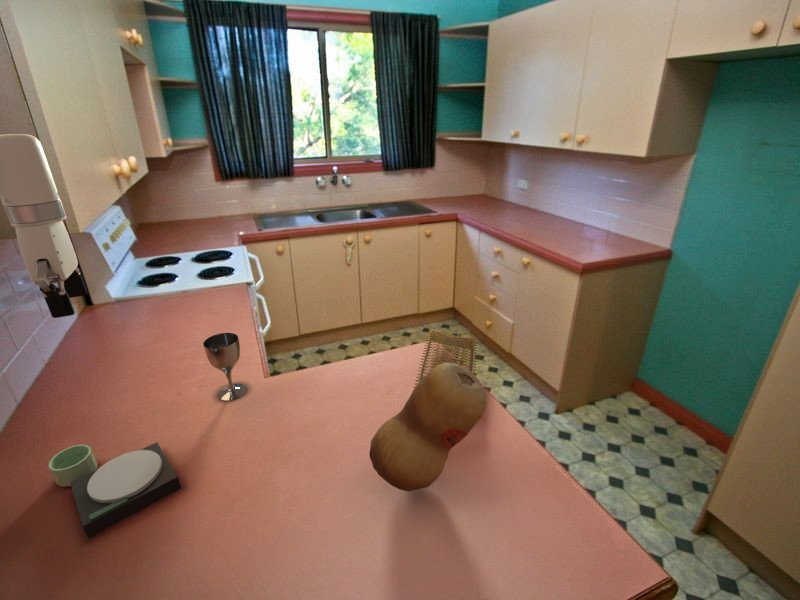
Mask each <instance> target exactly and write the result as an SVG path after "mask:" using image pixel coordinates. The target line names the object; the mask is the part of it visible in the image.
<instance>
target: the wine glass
mask: <svg viewBox="0 0 800 600" xmlns="http://www.w3.org/2000/svg"><path fill="white" fill-rule="evenodd" d="M202 345H203V346H202V347H203V350H204V353H205V356H206V358H207V360H208V362H209V363H210V365H211V366H212V367H214V368H215V369H217V370H219V371H221V372H222V373H224V375H225V377H226V379H227V382H228V385H225V386H224V387H222V388H221V389H220V390H219V391H218V392H217V398H218V399H219V400H221V401H226V402H227V401H233V400H237V399H239V398H241V397H243V396H244V395H246V393H247V391H248V387H247V386H246V385H245V384H243V383H233V379H232V371H233V369H234V367H235V366H236V364H237V363H238V362H239V360H240V356H241V345H240V338H239V335H237V334H236V333H233V332H221V333H217V334H214V335H211V336H209V337H207V338H206V339H205V340H204V341H203V344H202Z"/></svg>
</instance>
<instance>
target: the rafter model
mask: <svg viewBox="0 0 800 600" xmlns="http://www.w3.org/2000/svg"><path fill="white" fill-rule="evenodd" d="M477 350H478V337H474V336H471V337H469V335H468V336H467V337H466V336H464V334H463V335H462V336H460V335H455V334H451V333H446V332H441V331H439V330H436V329H434V328H430V327H429V329H428V332H427V337H426V340H425V343H424V347H423V350H422V355H421V357H422V358H420V360H421V361H419V367H418V369H419V370H417V372H419V373H416V375H417V376H416V377H415V378H416V379H414V380H415V383H414V385H415V386H413V389H415V387H416V386H417V385H418V383H419V382H420V381H421V380H422V379H423V378H424V377H425V376H426V375H427V374H428V373H429V372H430V371H431V370H432V369H433V368H435V367H436V366H438V365H440V364H442V363H455V364H458V365H460V366H462V367H463V368H466V369H467V370H469V371H471V372H472V373H473V374H474V375H476V371H477V369H476V368H477V364H476V363H477V357H478V356H477V354H478V353H477V352H478V351H477ZM416 382H417V383H416Z"/></svg>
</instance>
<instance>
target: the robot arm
mask: <svg viewBox="0 0 800 600" xmlns="http://www.w3.org/2000/svg"><path fill="white" fill-rule="evenodd" d="M0 201H1V204H2V206H3V209H4V211H5V214H6V216H7V218H8V222H9V223H10V226H11V227H13V228H14V229H15V235H16V239H17V244H18V246H19V247H18V248H19V250H20V254H21V256H22V260H23V262H24V265H25V268H26V271H27V274H28V276H29V279H30V282H31V283H32V284H33V285H38V286H39V287H38V288H39V291H41V294H42V297H43V298H44V301H45V303H46V306H47V308H48V310H49V314H50V315H51V318H53V319H57V318H65V317H70V316H74V315H75V313H76V312H75V309H74V306H73V303H72V301H71V298H79V297H85V296H87V295H88V290H87V288H86V285H85V282H84V279H83V276H82V275H81V270H80V268H79V267H78V265H79V261H78V256H77V254H76V251H75V248H74V245H73V243H72V240H71V238H70V235H69V232H68V230H67V228H66V226H65V224H64V222H63V221H65V220H67V218H68V217H67V214H66V212H65V208H64V206H63V203H62V200H61V197H60V194H59V191H58V189H57V186H56V183H55V180H54V177H53V174H52V171H51V168H50V165H49V162H48V159H47V157H46V153H45V151H44V148H43V145H42V143H41V141H40V140H39V139H38V138H37V137H36V136H34V135H31V134H27V133H9V134H0ZM55 284H57V285H55Z"/></svg>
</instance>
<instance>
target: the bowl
mask: <svg viewBox="0 0 800 600" xmlns="http://www.w3.org/2000/svg"><path fill="white" fill-rule="evenodd" d="M98 465H99V464H98V462H97V460H96V457H95V454H94V452H93V450H92V447H91V446H90V445H88V444H76V445H72V446H69V447H66V448H65V449H63V450H61V451H59V452H58V453H56V454H55V455H54V456H53V457H52V458H51V459H50V460H49V461H48V464H47V466H48V470H49V471H50V473H51V475H52V477H53V479H54V481H55V484H56V485H57V486H59V487H71V483H70V482H72V481H74V480H76V479H78V478H81V477H83V476H85V475H87V474H89V473H91V472H93V471H96V470H98Z"/></svg>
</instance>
